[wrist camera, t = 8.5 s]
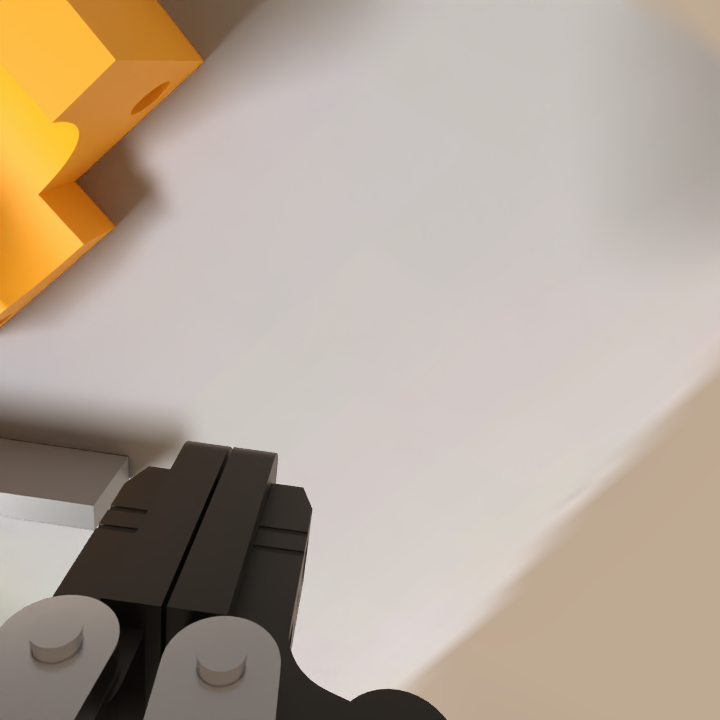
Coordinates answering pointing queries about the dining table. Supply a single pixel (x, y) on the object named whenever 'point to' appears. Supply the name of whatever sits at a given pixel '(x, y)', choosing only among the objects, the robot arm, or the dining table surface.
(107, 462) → the frame
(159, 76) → the pipe clamp
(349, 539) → the dining table surface
